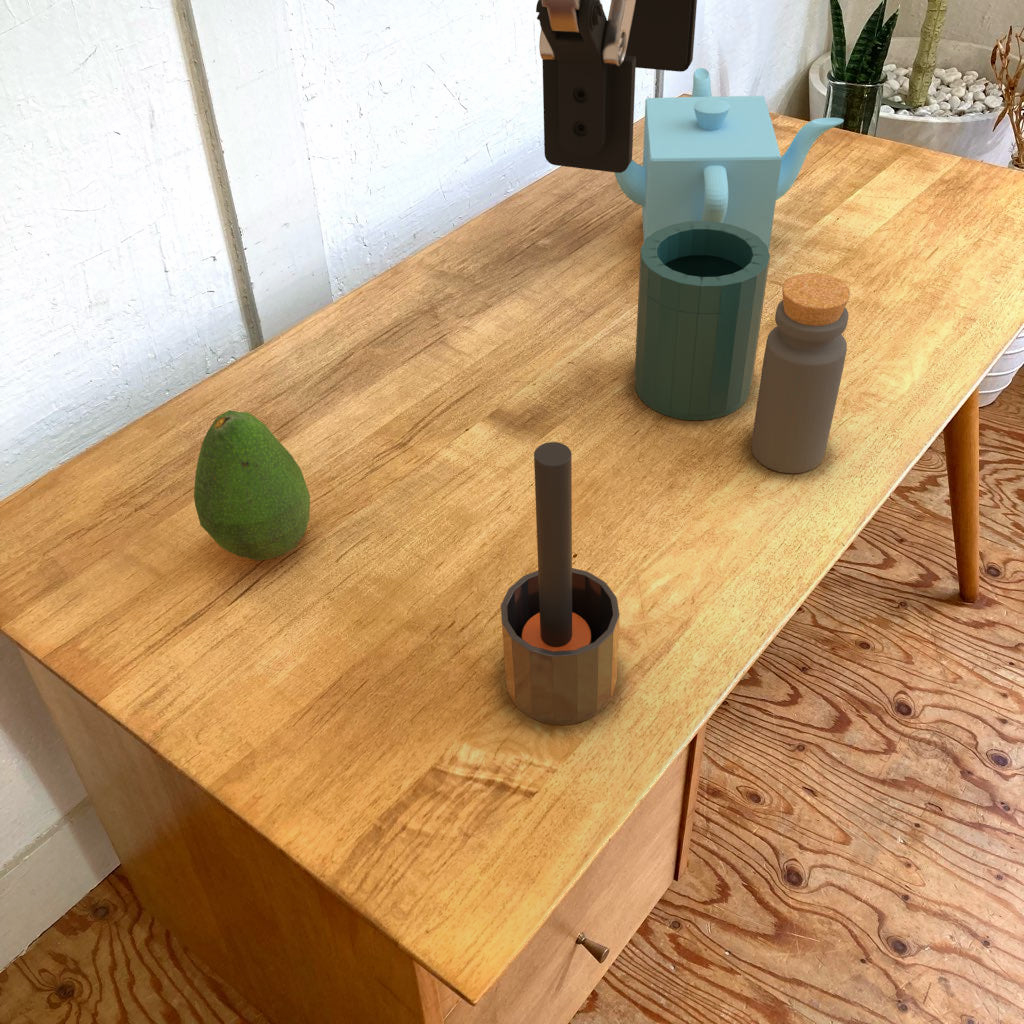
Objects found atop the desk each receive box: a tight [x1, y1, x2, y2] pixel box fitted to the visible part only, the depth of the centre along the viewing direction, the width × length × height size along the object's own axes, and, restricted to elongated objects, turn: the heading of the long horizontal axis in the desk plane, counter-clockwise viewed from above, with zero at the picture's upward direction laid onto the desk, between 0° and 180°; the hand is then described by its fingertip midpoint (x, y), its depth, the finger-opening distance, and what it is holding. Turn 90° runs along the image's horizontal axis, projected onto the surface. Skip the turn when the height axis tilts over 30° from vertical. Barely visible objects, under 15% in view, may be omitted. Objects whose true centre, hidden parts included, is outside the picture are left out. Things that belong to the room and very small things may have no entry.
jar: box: [634, 221, 771, 421], centre depth 87 cm, size 10×10×13 cm
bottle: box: [750, 272, 851, 474], centre depth 80 cm, size 6×6×15 cm
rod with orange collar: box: [522, 441, 591, 651], centre depth 62 cm, size 4×4×19 cm
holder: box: [500, 567, 620, 726], centre depth 67 cm, size 7×7×7 cm
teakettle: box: [613, 67, 845, 251], centre depth 104 cm, size 19×19×15 cm
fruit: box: [193, 409, 311, 562], centre depth 75 cm, size 8×8×12 cm
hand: (623, 112), depth 42 cm, fingers open, 9 cm apart
